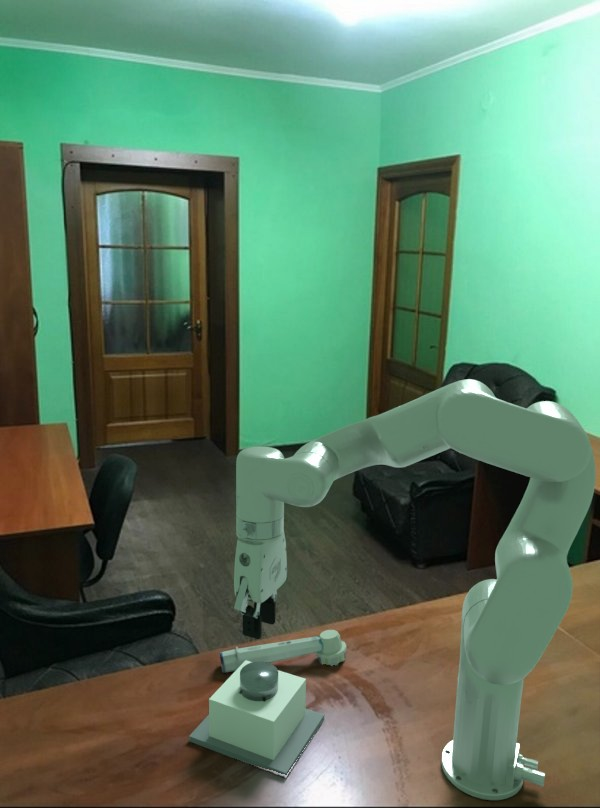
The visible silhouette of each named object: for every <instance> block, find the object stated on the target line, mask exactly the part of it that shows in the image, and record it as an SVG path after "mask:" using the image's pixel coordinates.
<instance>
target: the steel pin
mask: <svg viewBox="0 0 600 808" xmlns="http://www.w3.org/2000/svg"><path fill="white" fill-rule="evenodd" d="M240 692H241V694H242V696H244V697H245V698H246V699H249V700H252V701H264V702H265V701H266V700H268V699H271V698H272V697H274V696H275V695H276V694H277V692H278V668H277V666H276V665H275V664H272V663H267V662H260V661H259V662H252V663H249V664H247V665H245V666H244V667H243V668H242V669H241V671H240Z"/></svg>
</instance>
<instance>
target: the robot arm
mask: <svg viewBox="0 0 600 808" xmlns="http://www.w3.org/2000/svg"><path fill="white" fill-rule="evenodd" d="M449 449H452V450H454V451H456V452H458V453H459V454H461V455H462V454H463V455H465V456H467V457H469V458H472V459H474V460H477V461H481V462H483V463H486V464H489V465H492V466H495V467H498V468H501V469H504V470H507V471H510V472H512V473H513V472H514V473H516V474H520V475H523V476H525V477H529V482H528V485H527V487H526V490H525V492H524V494H523V497H522V499H521V501H520V504H519V505H518V507H517V509H516V511H515V513H514V514H513V516H512V518H511V520H510V522H509V524H508V525H507V527H506V530H505V531H504V533H503V535H502V536H501V538H500V540H499V542H498V543H497V546H496V549H495V553H494V556H495V557H494V562H495V571H496V573H495V574H496V579H495V578H490V579H484V580H482V581H479V582H477V583H476V584H474V585H473V586H472V587H471V588H470V589H469V591H468V592H467V594H466V595H465V598H464V600H463V605H462V609H461V610H462V611H461V633H460V634H461V635H460V650H459V651H460V652H459V665H458V666H459V667H458V677H457V685H456V686H457V687H456V688H457V689H456V700H455V711H454V721H453V723H454V725H453V738H452V740H451V741H449V742H448V743H447V744H445V746H444V748H443V750H442V753H441V760H440V761H441V762H440V763H441V767H442V771H443V773H444V775H445V777H446V778H447V779H448V780H449V781H450V782H451V784H452V785H453V786H454V787H456V788H457V789H458V790H460V791H461V792H463V793H465V794H467V795H470V796H472V797H474V798H477V799H480V800H484V801H485V800H486V801H487V800H488V801H501V800H506V799H510V798H512V797H513V796H515V795H517V794H518V792H519V791H520V790H521V789H522V788H523V784H524V781H526V782H529V783H531V784H534V785H537V786H539V787H544V785H545V776H546V773H545V772H543V771H541V770H538V768H539V767H538V766H539V761H538V760H535V759H532V758H527V757H524V756H523V755H524V754H521V753H520V748H521V747H520V743H518V734H519V723H520V715H521V707H522V706H521V704H522V703H521V702H522V695H523V687H524V679H525V677H527V676H528V675H529V674H531V672H532V671H533V670H534V669H535V667H536V666H537V664H538V663H539V661H540V660H541V657H543V654H544V652H545V651H546V649H547V647H548V645H549V643H550V642H551V640H552V639H553V637H554V635H555V634H556V632H557V630H558V628H559V626H560V624H561V623H562V622H563V619H564V618H565V615H566V613H567V612H568V609H569V607H570V604H571V601H572V597H573V591H574V584H573V583H574V582H573V575H572V572H571V570H570V566H569V564H568V554H569V551H570V548H571V546H572V544H573V542H574V540H575V538H576V536H577V535H578V532H579V530H580V528H581V526H582V524H583V521H584V520H585V518H586V516H587V514H588V511H589V509H590V506H591V504H592V500H593V496H594V493H595V487H596V471H597V470H596V461H595V455H594V451H593V448H592V445H591V441H590V439H589V435H588V434H587V432H586V431H585V429H584V428H583V426H582V425H581V423H580V422H579V420H578V419H577V418H576V416H575V415H574V414H573V413H572V411H571V410H570V409H568V408H567V407H565V406H564V405H562V404H560V403H558V402H556V401H555V402H554V401H550V400H545V401H544V400H541V401H537V402H535V403H532V404H531V405H529V406H528V407H527V408H526V407H523V406H520V405H517V404H515V403H514V404H513V403H511V402H507V401H505V400H502V399H499V398H497V397H496V396H495V394H494V393H493V391H492V389H491V388H489V387H488V386H487V385H486V384H484V383H483V382H481V381H479V380H477V379H471V378H468V379H461V380H460V379H459V380H457V381H455V382H451V383H449V384H446V385H444V386H442V387H439V388H438V389H435V390H433V391H430V392H428V393H425V394H424V395H421V396H419V397H418V398H416V399H413V400H411V401H409V402H406V403H404V404H401V405H399V406H397V407H393V408H392V409H389V410H387V411H385V412H382V413H380V414H377V415H373V416H370V417H368V418H366V419H364V420H363V419H362V420H360V421H357V422H354V423H351V424H348V425H346V426H343V427H340V428H338V429H336V430H334V431H331V432H329V433H326V434H324V435H322V436H319V437H317V438H315V439H313V440H311V441H309V442H307V443H306V444H304V445H302V446H301V447H300V448H299V449H298V450H296V452H295V453H294V455H292V456H289V457H287V458H285V456H284V454H283V453H282V452H281V451H280V450H279V449H277V448H275V447H270V446H264V445H263V446H261V445H259V446H258V445H257V446H250V447H246V448H244V449H242V450H240V451H239V452H238V454H237V457H236V461H235V463H236V464H235V466H236V467H235V471H236V472H235V475H236V477H235V478H236V480H235V481H236V482H235V483H236V484H235V485H236V487H235V488H236V489H235V493H236V494H235V496H236V499H235V501H236V502H235V503H236V505H235V508H236V511H235V515H236V517H235V518H236V519H235V520H236V522H235V525H236V526H235V530H236V531H235V532H236V533H235V534H236V537H237V541H236V548H235V556H234V557H235V558H234V569H233V570H234V573H233V588H234V590H233V591H234V596H235V597H236V599H235V603H234V607H233V609H234V610H235V611H238V612H240V614H241V615H242V635H243V636H246V637H249V638H252V639H255V640H260V639H261V638H262V623H264V624H269V625H272V626H273V625H275V624H276V613H277V610H276V606H277V605H276V604H277V603H276V600H277V598H278V591H277V590H278V589H280V587H281V586H282V585H283V584H284V583H286V580H287V577H288V576H287V575H288V567H287V566H288V562H287V558H288V557H287V542H286V535H285V531H284V527H285V526H284V524H285V522H284V519H285V504H289V505H292V506H296V507H301V508H311V507H314V506H316V505H318V504H320V503H321V502H322V501H323V500H324V498H325V497H326V496H327V494H328V492H329V491H330V488H331V486H332V485H333V482H334V481H336V480H338V479H340V478H343V477H344V476H346V475H349V474H352V473H354V472H357V471H360V470H362V469H365V468H368V467H372V466H373V467H374V466H377V465H378V466H379V465H380V466H381V465H384V466H389V467H393V468H406V467H408V466H411V465H413V464H415V463H418V462H421V461H422V460H425V459H428V458H430V457H432V456H435V455H437V454H439V453H442V452H444V451H448V450H449ZM249 602H250V603H251V602H252V603H254V604H253V606H252V605H250V604H249Z"/></svg>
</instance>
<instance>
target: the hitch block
mask: <svg viewBox="0 0 600 808" xmlns="http://www.w3.org/2000/svg"><path fill="white" fill-rule="evenodd" d="M249 663H252V662H250V661H247V660H245V661H244V662H243V663H242V665H241V666H240V667H239V668H238V669H237V670H236V671H233V673H232V674H231V675H230V676H229V677H227V679H226V680H225V682H224V683H223V684H222V685H221V686H220V687H219V688H218V689H217V690H216V691H215V692H214V693H213V694H212V695H211V697H209V698H208V708H209V709H208V712H209V713H208V715H207V716H205V718H204V719H203V720H202V721H201V723H200V724H199V725H198V726H197V727H196V728H195V729H194V730H193V731H192V733H190V735H188V741H189V742H190V743H193V744H195V745H198V746H200V747H202V748H203V747H204V748H206V749H208V750H211V751H214V752H217V753H219V754H221V755H224V756H227V757H229V758H232V759H234V758H235V759H234V760H236V759H237V761H239V760H241V761H240V762H242V761H244V762H246V763H245V764H247V763H249V764H251V765H250V766H252V765H255V766H259V767H262V768H265V769H269V770H273V771H276V772H278V773H281V774H285V775H287V773H288V772H289V770H290V769H291V767H292V766H293V764H294V763H295V762H296V760H297V759H298V757H299V756H300V754H301V753H302V751H303V750H304V748H305V747H306V745H307V744H308V743H309V744H310V742H311V741H312V739H313V738H314V736H315V735H316V733H317V732H316V731H318V730H319V728H320V727H321V725H322V724H323V722H324V721H323V720H325V714H324V713H321V712H317V711H315V710H311V709H309V708H306V706H307V705H306V700H307V699H306V696H307V695H306V694H307V693H306V692H307V678H304V677H301V676H298V675H294V674H291V673H289V672H286V671H282V670H280V669H279V670H278V669H277V670H278V692H277V694H276V695H275V696H274V697H272V698H271V699H268V700H266V701H265V702H264V701H252V700H249V699H246V698H245V697H244V696H242V694H241V692H240V671H241V669H242V668H243V667H244V666H245V665H247V664H249ZM321 723H322V724H321ZM319 726H320V727H319ZM317 729H318V730H317ZM315 732H316V733H315ZM314 734H315V735H314ZM313 735H314V736H313ZM312 737H313V738H312ZM311 738H312V739H311ZM310 740H311V741H310ZM309 741H310V742H309ZM309 744H308V745H309ZM308 745H307V746H308ZM306 748H307V747H306ZM304 751H305V750H304ZM302 754H303V753H302ZM300 757H301V756H300ZM298 760H299V759H298ZM244 762H243V763H244ZM249 764H248V765H249ZM255 766H254V767H255Z"/></svg>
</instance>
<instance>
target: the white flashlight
mask: <svg viewBox="0 0 600 808" xmlns="http://www.w3.org/2000/svg"><path fill="white" fill-rule="evenodd" d="M347 649H348V648H347V644H346V642H345V641H343V640H342V639H341V635H340V633H339V631H337V630H335V629H327V630H323V631H322V632H320V634H319V635H315V636H310V637H303V638H297V639H291V640H284V641H278V642H272V643H265V644H257V645H252V646H245V647H240V648H239V647H238V646H235V648H234V649H230V650H225V651H220V652H219V659H220V664H221V672H222V674H226V673H231V672H235V671H236V670H237V669H238V668H239V667H240V666H241V665H242V663H243V662H244V661H245V660H247V661H250V662H259V661H260V662H267V663H270V664H272V663H276V662H280V661H284V660H288V659H289V660H290V659H293V658H298V657H301V656H307V655H310V654H315V655H316V657H317V660H318V659H319V660H318V662H319V661H320V662H321V663H323V664H326V665H327V666H331V667H334V666H333V665H335V666H339V663H341V662H343V663H344V661H345V660H346V651H347ZM320 662H319V663H320ZM321 663H320V664H321ZM323 664H322V665H323ZM326 665H325V666H326Z"/></svg>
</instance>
